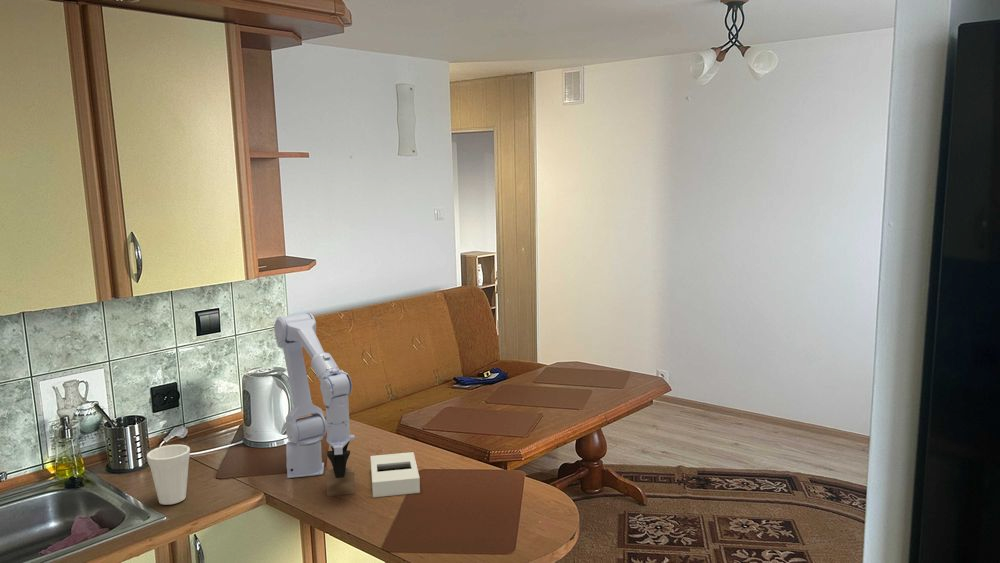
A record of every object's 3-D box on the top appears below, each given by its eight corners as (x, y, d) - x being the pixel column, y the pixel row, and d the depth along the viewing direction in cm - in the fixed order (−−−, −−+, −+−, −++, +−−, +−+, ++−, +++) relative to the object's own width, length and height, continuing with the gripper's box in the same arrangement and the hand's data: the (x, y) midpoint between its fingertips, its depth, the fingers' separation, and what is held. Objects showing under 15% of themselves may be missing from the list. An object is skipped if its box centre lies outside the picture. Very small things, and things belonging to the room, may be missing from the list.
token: (327, 496, 180) (325, 474, 179) (327, 491, 183) (326, 469, 182) (354, 493, 182) (353, 471, 181) (354, 488, 184) (353, 467, 184)
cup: (167, 512, 172) (163, 462, 170) (141, 504, 177) (137, 454, 175) (202, 496, 181) (198, 448, 179) (177, 489, 185) (173, 441, 184)
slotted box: (372, 497, 179) (372, 482, 178) (371, 469, 197) (370, 455, 196) (420, 492, 181) (419, 477, 181) (414, 465, 199) (413, 452, 198)
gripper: (353, 428, 173) (356, 481, 175) (353, 410, 187) (355, 459, 189) (324, 431, 172) (327, 483, 174) (326, 412, 186) (329, 461, 188)
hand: (340, 471), depth 181 cm, fingers open, 7 cm apart
